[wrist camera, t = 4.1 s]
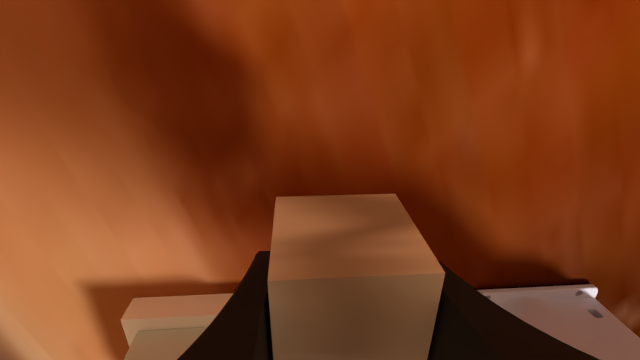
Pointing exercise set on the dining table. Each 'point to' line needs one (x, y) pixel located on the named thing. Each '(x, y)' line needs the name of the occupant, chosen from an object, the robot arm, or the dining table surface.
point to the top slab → (162, 343)
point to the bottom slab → (171, 313)
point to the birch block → (350, 280)
